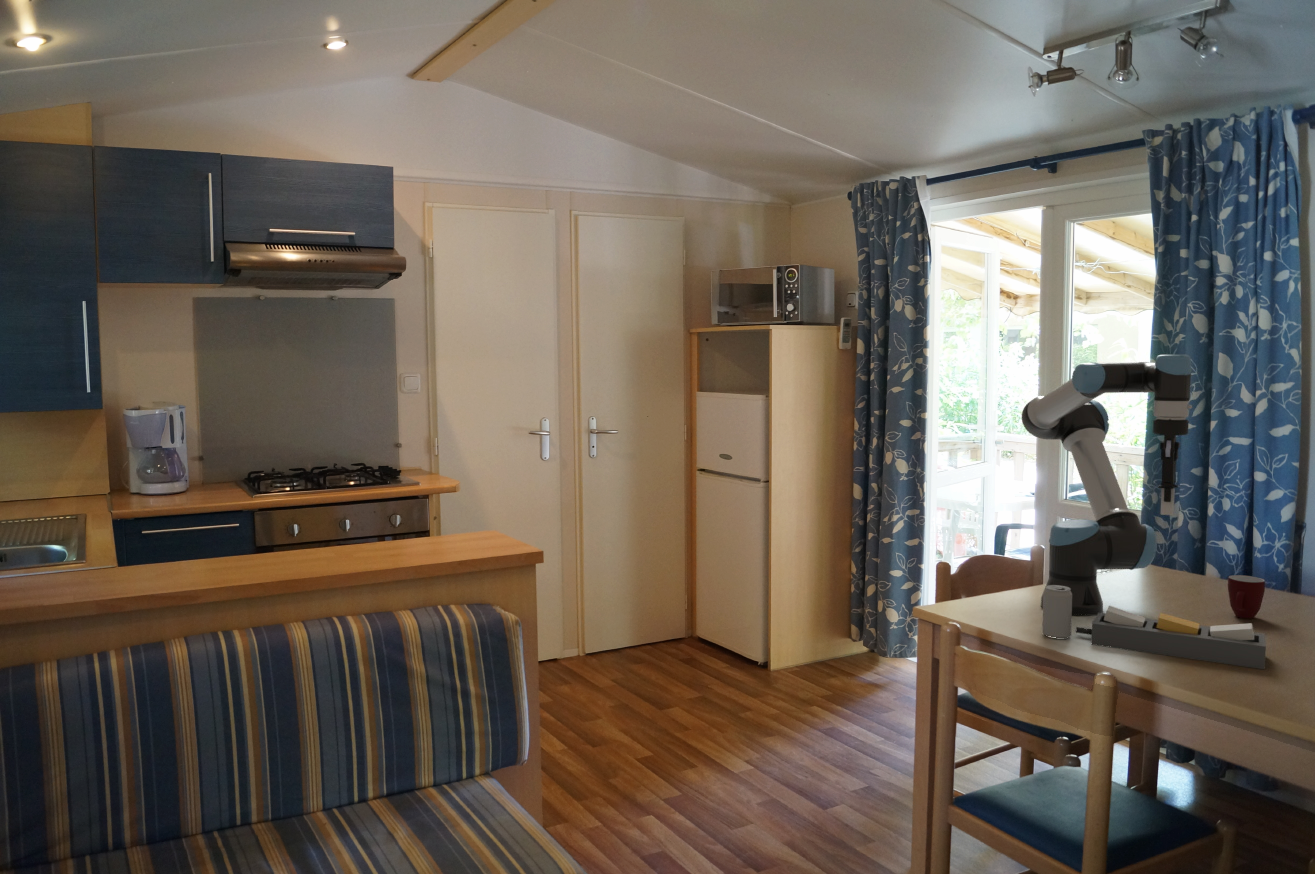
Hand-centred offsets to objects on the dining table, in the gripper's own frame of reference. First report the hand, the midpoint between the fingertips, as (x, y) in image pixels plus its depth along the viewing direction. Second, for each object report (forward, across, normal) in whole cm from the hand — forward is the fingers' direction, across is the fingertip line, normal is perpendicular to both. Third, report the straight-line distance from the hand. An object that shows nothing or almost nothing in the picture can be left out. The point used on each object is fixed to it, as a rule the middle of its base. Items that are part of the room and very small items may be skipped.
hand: (1167, 514), depth 229 cm
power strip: (+28, -18, -2) cm, 34 cm away
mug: (+29, +21, -17) cm, 39 cm away
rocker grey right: (+24, -18, -15) cm, 33 cm away
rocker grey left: (+24, -18, +7) cm, 31 cm away
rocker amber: (+24, -18, -4) cm, 30 cm away
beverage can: (+29, -21, +21) cm, 41 cm away
